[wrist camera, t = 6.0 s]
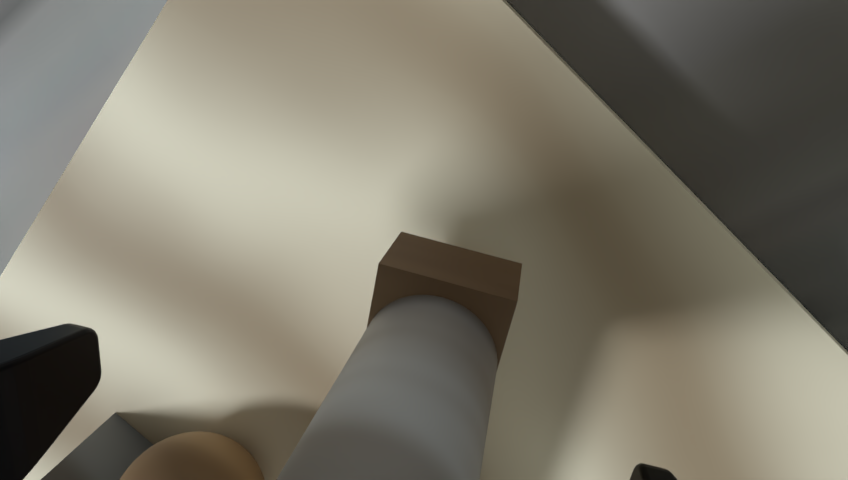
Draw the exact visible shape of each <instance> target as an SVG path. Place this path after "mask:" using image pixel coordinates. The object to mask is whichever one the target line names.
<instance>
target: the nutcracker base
mask: <svg viewBox="0 0 848 480" xmlns="http://www.w3.org/2000/svg"><path fill="white" fill-rule="evenodd" d="M401 232H405V233H409V234H413V235H416V236H420V237H424V238H428V239H431V240H435V241H439V242H443V243H446V244H450V245H454V246H458V247H462V248H465V249H469V250H473V251H477V252H480V253H484V254H488V255H492V256H495V257H499V258H503V259H507V260H510V261H514V262H518V263H522V269H521V277H520V286H519V294H518V302H517V305H516V308H515V312H514V315H513V318H512V322H511V325H510V328H509V332H508V335H507V339H506V342H505V345H504V349H503V352H502V355H501V359H500V362H499V365H498V369H497V372H496V378H495V384H494V391H493V397H492V404H491V410H490V416H489V423H488V429H487V435H486V442H485V448H484V454H483V461H482V467H481V474H480V480H630V477H631V475H632V472H633V469H634V468H635V466H636V465H637V464H639V463H645V464H649V465H653V466H657V467H661V468H665V469H667V470H669V471H670V472H671V473H672V474H673V475H674V476H675V477H676V478H677V480H848V351H847V350H846V349H845V348H844V347H843V346H842V345H841V344H840V343H839V342H838V341H837V340H836V339H835V338H834V337H833V336H832V335H831V334H830V333H829V332H828V331H827V330H826V329H825V328H824V327H823V326H822V325H821V324H820V323H819V322H818V321H817V320H816V319H815V318H814V317H813V316H812V314H811V313H810V312H809V311H808V310H807V309H806V308H805V307H804V306H803V305H802V304H801V303H800V302H799V301H798V300H797V299H796V298H795V297H794V296H793V295H792V294H791V293H790V292H789V291H788V290H787V289H786V288H785V287H784V286H783V285H782V284H781V283H780V282H779V281H778V280H777V279H776V278H775V276H774V275H773V274H772V273H771V272H770V271H769V270H768V269H767V268H766V267H765V266H764V265H763V264H762V263H761V262H760V261H759V260H758V259H757V258H756V257H755V256H754V255H753V254H752V253H751V252H750V251H749V250H748V249H747V248H746V247H745V246H744V245H743V244H742V243H741V242H740V241H739V240H738V238H737V237H736V236H735V235H734V234H733V233H732V232H731V231H730V230H729V229H728V228H727V227H726V226H725V225H724V224H723V223H722V222H721V221H720V220H719V219H718V218H717V217H716V216H715V215H714V214H713V213H712V212H711V211H710V210H709V209H708V208H707V207H706V206H705V205H704V204H703V203H702V202H701V200H700V199H699V198H698V197H697V196H696V195H695V194H694V193H693V192H692V191H691V190H690V189H689V188H688V187H687V186H686V185H685V184H684V183H683V182H682V181H681V180H680V179H679V178H678V177H677V176H676V175H675V174H674V173H673V172H672V171H671V170H670V169H669V168H668V167H667V166H666V165H665V164H664V162H663V161H662V160H661V159H660V158H659V157H658V156H657V155H656V154H655V153H654V152H653V151H652V150H651V149H650V148H649V147H648V146H647V145H646V144H645V143H644V142H643V141H642V140H641V139H640V138H639V137H638V136H637V135H636V134H635V133H634V132H633V131H632V130H631V129H630V128H629V127H628V126H627V124H626V123H625V122H624V121H623V120H622V119H621V118H620V117H619V116H618V115H617V114H616V113H615V112H614V111H613V110H612V109H611V108H610V107H609V106H608V105H607V104H606V103H605V102H604V101H603V100H602V99H601V98H600V97H599V96H598V95H597V94H596V93H595V92H594V91H593V90H592V89H591V87H590V86H589V85H588V84H587V83H586V82H585V81H584V80H583V79H582V78H581V77H580V76H579V75H578V74H577V73H576V72H575V71H574V70H573V69H572V68H571V67H570V66H569V65H568V64H567V63H566V62H565V61H564V60H563V59H562V58H561V57H560V56H559V55H558V54H557V53H556V52H555V51H554V49H553V48H552V47H551V46H550V45H549V44H548V43H547V42H546V41H545V40H544V39H543V38H542V37H541V36H540V35H539V34H538V33H537V32H536V31H535V30H534V29H533V28H532V27H531V26H530V25H529V24H528V23H527V22H526V21H525V20H524V19H523V18H522V17H521V16H520V15H519V14H518V13H517V11H516V10H515V9H514V8H513V7H512V6H511V5H510V4H509V3H508V2H507V1H506V0H168V1H167V2H166V4H165V6H164V7H163V9H162V11H161V12H160V14H159V16H158V17H157V19H156V21H155V22H154V24H153V25H152V27H151V29H150V30H149V32H148V34H147V35H146V37H145V39H144V40H143V42H142V44H141V45H140V47H139V49H138V50H137V52H136V54H135V55H134V57H133V58H132V60H131V62H130V63H129V65H128V67H127V68H126V70H125V72H124V73H123V75H122V77H121V78H120V80H119V82H118V83H117V85H116V87H115V88H114V90H113V91H112V93H111V95H110V96H109V98H108V100H107V101H106V103H105V105H104V106H103V108H102V110H101V111H100V113H99V115H98V116H97V118H96V120H95V121H94V123H93V124H92V126H91V128H90V129H89V131H88V133H87V134H86V136H85V138H84V139H83V141H82V143H81V144H80V146H79V148H78V149H77V151H76V152H75V154H74V156H73V157H72V159H71V161H70V162H69V164H68V166H67V167H66V169H65V171H64V172H63V174H62V176H61V177H60V179H59V181H58V182H57V184H56V185H55V187H54V189H53V190H52V192H51V194H50V195H49V197H48V199H47V200H46V202H45V204H44V205H43V207H42V209H41V210H40V212H39V214H38V215H37V217H36V218H35V220H34V222H33V223H32V225H31V227H30V228H29V230H28V232H27V233H26V235H25V237H24V238H23V240H22V242H21V243H20V245H19V246H18V248H17V250H16V251H15V253H14V255H13V256H12V258H11V260H10V261H9V263H8V265H7V266H6V268H5V270H4V271H3V273H2V275H1V276H0V340H1V339H5V338H9V337H13V336H17V335H21V334H25V333H29V332H33V331H37V330H41V329H46V328H50V327H54V326H58V325H62V324H67V323H71V324H77V325H81V326H85V327H89V328H92V329H93V330H95V332H96V333H97V335H98V340H99V350H100V360H101V372H102V374H101V379H100V382H99V384H98V386H97V388H96V389H95V391H94V392H93V393H92V394H91V396H90V397H89V398H88V399H87V401H86V402H85V403H84V405H83V406H82V407H81V408H80V410H79V411H78V412H77V413H76V415H75V416H74V417H73V419H72V420H71V421H70V422H69V424H68V425H67V426H66V427H65V429H64V430H63V431H62V433H61V434H60V435H59V436H58V438H57V439H56V440H55V441H54V443H53V444H52V445H51V447H50V448H49V449H48V450H47V452H46V453H45V454H44V455H43V457H42V458H41V459H40V460H39V462H38V463H37V464H36V465H35V466H34V468H33V469H32V470H31V471H30V472H29V473H28V475H27V476H26V477H25V478H24V479H23V480H276V479H277V478H278V476H279V474H280V473H281V471H282V469H283V468H284V466H285V464H286V463H287V461H288V459H289V458H290V456H291V454H292V453H293V451H294V449H295V448H296V446H297V444H298V443H299V441H300V439H301V438H302V436H303V434H304V433H305V431H306V429H307V427H308V426H309V424H310V422H311V421H312V419H313V417H314V416H315V414H316V412H317V411H318V409H319V407H320V406H321V404H322V402H323V401H324V399H325V397H326V396H327V394H328V392H329V391H330V389H331V387H332V386H333V384H334V382H335V381H336V379H337V377H338V376H339V374H340V372H341V371H342V369H343V367H344V366H345V364H346V362H347V361H348V359H349V357H350V356H351V354H352V352H353V351H354V349H355V347H356V346H357V344H358V342H359V341H360V339H361V337H362V336H363V334H364V332H365V331H366V329H367V324H368V318H369V313H370V307H371V302H372V296H373V291H374V286H375V280H376V275H377V269H378V264H379V262H380V261H381V259H382V258H383V256H384V255H385V254H386V252H387V251H388V249H389V248H390V247H391V245H392V244H393V242H394V241H395V240H396V238H397V237H398V235H399V234H400V233H401Z"/></svg>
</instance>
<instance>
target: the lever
mask: <svg viewBox="0 0 848 480" xmlns="http://www.w3.org/2000/svg"><path fill="white" fill-rule="evenodd" d="M521 269H522V263H518V262H514V261H510V260H507V259H503V258H499V257H495V256H492V255H488V254H484V253H480V252H477V251H473V250H469V249H465V248H462V247H458V246H454V245H450V244H446V243H443V242H439V241H435V240H431V239H428V238H424V237H420V236H416V235H413V234H409V233H405V232H401V233H400V234H399V235H398V237H397V238H396V240H395V241H394V242H393V244H392V245H391V247H390V248H389V249H388V251H387V252H386V254H385V255H384V256H383V258H382V259H381V261H380V262H379V264H378V269H377V275H376V280H375V286H374V291H373V296H372V302H371V307H370V313H369V318H368V324H367V329H366V331H365V332H364V334H363V336H362V337H361V339H360V341H359V342H358V344H357V346H356V347H355V349H354V351H353V352H352V354H351V356H350V357H349V359H348V361H347V362H346V364H345V366H344V367H343V369H342V371H341V372H340V374H339V376H338V377H337V379H336V381H335V382H334V384H333V386H332V387H331V389H330V391H329V392H328V394H327V396H326V397H325V399H324V401H323V402H322V404H321V406H320V407H319V409H318V411H317V412H316V414H315V416H314V417H313V419H312V421H311V422H310V424H309V426H308V427H307V429H306V431H305V433H304V434H303V436H302V438H301V439H300V441H299V443H298V444H297V446H296V448H295V449H294V451H293V453H292V454H291V456H290V458H289V459H288V461H287V463H286V464H285V466H284V468H283V469H282V471H281V473H280V474H279V476H278V478H277V479H276V480H480V474H481V467H482V461H483V454H484V448H485V442H486V435H487V429H488V423H489V416H490V410H491V404H492V397H493V391H494V384H495V378H496V372H497V369H498V365H499V362H500V359H501V355H502V352H503V349H504V345H505V342H506V339H507V335H508V332H509V328H510V325H511V322H512V318H513V315H514V312H515V308H516V305H517V302H518V294H519V286H520V277H521Z"/></svg>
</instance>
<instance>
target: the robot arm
mask: <svg viewBox="0 0 848 480" xmlns="http://www.w3.org/2000/svg"><path fill="white" fill-rule="evenodd" d="M101 374H102V372H101V360H100V350H99V340H98V335H97V333H96V332H95V330H93V329H92V328H89V327H85V326H81V325H77V324H71V323H67V324H62V325H58V326H54V327H50V328H46V329H41V330H37V331H33V332H29V333H25V334H21V335H17V336H13V337H9V338H5V339H1V340H0V480H23V479H24V478H25V477H26V476H27V475H28V473H29V472H30V471H31V470H32V469H33V468H34V466H35V465H36V464H37V463H38V462H39V460H40V459H41V458H42V457H43V455H44V454H45V453H46V452H47V450H48V449H49V448H50V447H51V445H52V444H53V443H54V441H55V440H56V439H57V438H58V436H59V435H60V434H61V433H62V431H63V430H64V429H65V427H66V426H67V425H68V424H69V422H70V421H71V420H72V419H73V417H74V416H75V415H76V413H77V412H78V411H79V410H80V408H81V407H82V406H83V405H84V403H85V402H86V401H87V399H88V398H89V397H90V396H91V394H92V393H93V392H94V391H95V389H96V388H97V386H98V384H99V382H100V379H101ZM630 480H677V478H676V477H675V476H674V475H673V474H672V473H671V472H670V471H669V470H667V469H665V468H661V467H657V466H653V465H649V464H645V463H639V464H637V465H636V466H635V468H634V469H633V472H632V475H631V477H630Z"/></svg>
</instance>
